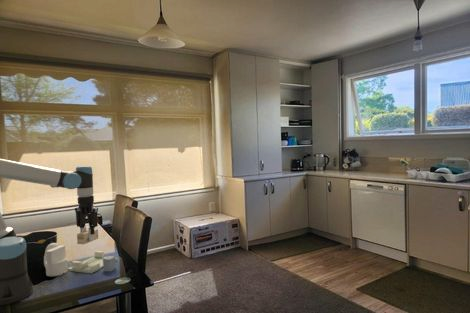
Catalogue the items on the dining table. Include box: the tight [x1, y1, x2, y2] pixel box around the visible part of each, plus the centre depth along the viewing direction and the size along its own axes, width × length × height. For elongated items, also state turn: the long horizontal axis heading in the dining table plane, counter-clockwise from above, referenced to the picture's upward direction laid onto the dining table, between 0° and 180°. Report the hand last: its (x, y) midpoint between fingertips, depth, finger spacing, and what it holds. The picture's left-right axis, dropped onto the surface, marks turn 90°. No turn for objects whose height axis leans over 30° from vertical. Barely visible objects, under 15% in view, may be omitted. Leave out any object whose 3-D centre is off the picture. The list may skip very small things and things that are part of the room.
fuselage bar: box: [76, 228, 99, 245], centre depth 156 cm, size 10×4×5 cm, turn 163°
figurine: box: [43, 242, 60, 269], centre depth 156 cm, size 7×8×12 cm
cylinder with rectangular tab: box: [45, 244, 68, 277], centre depth 147 cm, size 9×9×12 cm
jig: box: [67, 250, 118, 274], centre depth 155 cm, size 18×15×4 cm
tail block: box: [102, 255, 117, 272], centre depth 148 cm, size 4×4×6 cm
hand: (87, 240), depth 156 cm, fingers closed on fuselage bar, 4 cm apart
